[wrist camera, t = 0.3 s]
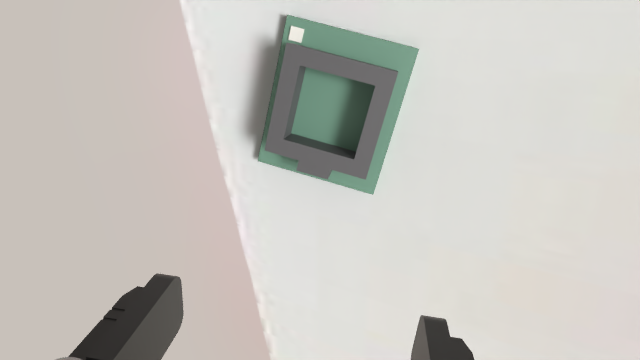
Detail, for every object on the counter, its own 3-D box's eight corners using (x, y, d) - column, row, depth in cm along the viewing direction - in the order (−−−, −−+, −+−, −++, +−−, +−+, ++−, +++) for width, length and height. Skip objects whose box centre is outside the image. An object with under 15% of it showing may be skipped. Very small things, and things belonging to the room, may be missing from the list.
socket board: (290, 15, 36) (278, 11, 32) (418, 49, 35) (421, 48, 31) (260, 158, 41) (247, 168, 37) (373, 191, 40) (371, 205, 36)
